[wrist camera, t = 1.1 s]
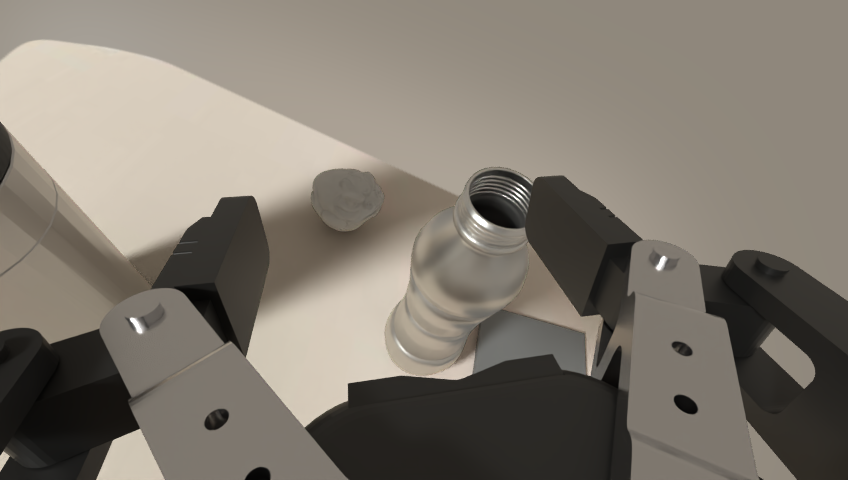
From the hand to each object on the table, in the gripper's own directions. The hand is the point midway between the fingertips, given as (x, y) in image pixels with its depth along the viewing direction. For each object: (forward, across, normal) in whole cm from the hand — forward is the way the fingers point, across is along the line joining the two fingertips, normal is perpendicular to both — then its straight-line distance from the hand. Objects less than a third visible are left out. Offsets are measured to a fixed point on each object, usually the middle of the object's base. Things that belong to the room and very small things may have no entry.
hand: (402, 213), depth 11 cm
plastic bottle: (+12, -3, +20) cm, 24 cm away
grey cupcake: (+24, +3, +15) cm, 28 cm away
